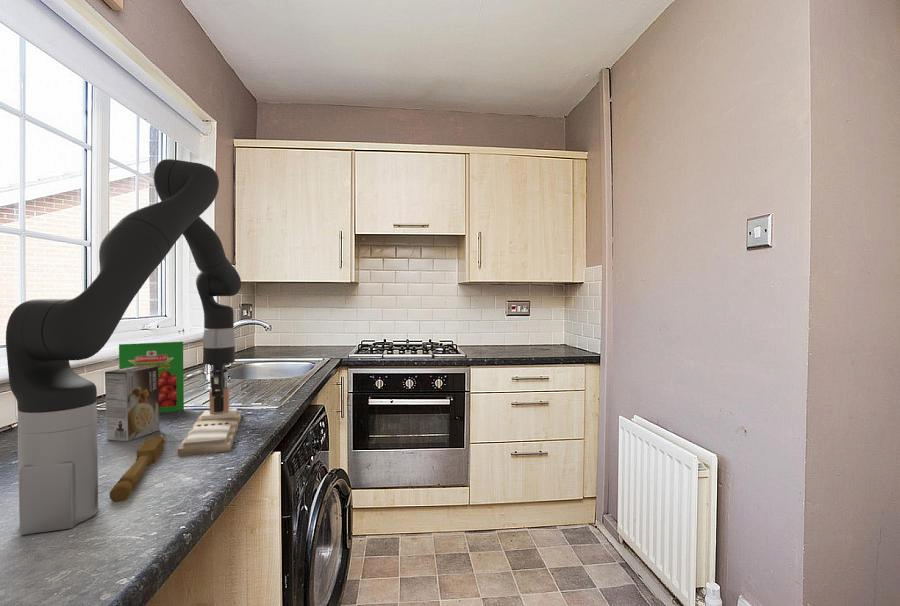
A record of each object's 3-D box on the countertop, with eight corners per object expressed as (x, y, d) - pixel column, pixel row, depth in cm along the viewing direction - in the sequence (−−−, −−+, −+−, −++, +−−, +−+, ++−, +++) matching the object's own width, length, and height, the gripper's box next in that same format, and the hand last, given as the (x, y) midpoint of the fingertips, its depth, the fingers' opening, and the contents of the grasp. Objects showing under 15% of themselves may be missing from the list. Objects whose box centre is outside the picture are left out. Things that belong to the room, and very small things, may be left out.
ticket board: (230, 450, 102) (229, 438, 102) (177, 456, 99) (177, 443, 99) (241, 416, 130) (241, 406, 130) (201, 419, 127) (200, 409, 127)
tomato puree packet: (119, 417, 129) (118, 344, 129) (120, 416, 130) (119, 344, 130) (183, 410, 137) (183, 341, 137) (183, 409, 138) (183, 341, 138)
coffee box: (138, 428, 118) (137, 365, 118) (160, 430, 117) (159, 366, 117) (105, 440, 109) (104, 371, 109) (128, 441, 108) (127, 372, 108)
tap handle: (108, 486, 77) (150, 434, 105) (108, 505, 77) (150, 447, 105) (130, 484, 78) (166, 432, 106) (130, 502, 78) (166, 446, 106)
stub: (235, 417, 124) (235, 390, 124) (201, 420, 121) (200, 392, 121) (237, 411, 129) (237, 386, 129) (204, 414, 127) (204, 388, 126)
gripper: (232, 347, 119) (232, 415, 120) (237, 342, 133) (237, 403, 133) (198, 348, 117) (199, 418, 117) (207, 342, 130) (207, 405, 131)
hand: (219, 409), depth 125 cm, fingers closed on stub, 3 cm apart
